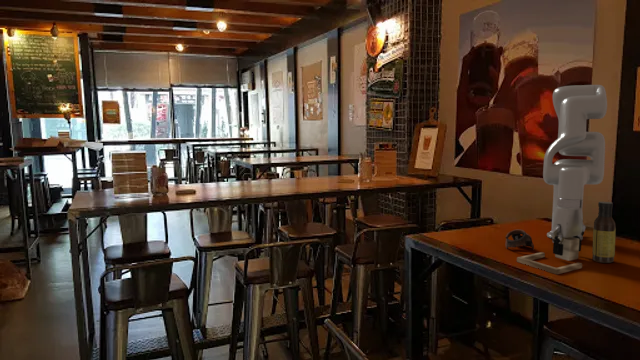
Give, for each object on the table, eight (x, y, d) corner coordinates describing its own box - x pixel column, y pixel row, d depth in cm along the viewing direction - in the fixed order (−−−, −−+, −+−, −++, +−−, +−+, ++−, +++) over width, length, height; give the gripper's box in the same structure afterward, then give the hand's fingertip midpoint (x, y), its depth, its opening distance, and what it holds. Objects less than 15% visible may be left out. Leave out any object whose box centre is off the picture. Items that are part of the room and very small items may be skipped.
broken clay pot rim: (540, 253, 159) (532, 235, 156) (514, 263, 161) (506, 246, 158) (527, 237, 170) (520, 220, 167) (503, 246, 172) (496, 230, 169)
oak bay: (541, 256, 154) (541, 252, 154) (582, 268, 141) (582, 263, 141) (516, 261, 148) (517, 257, 148) (556, 274, 135) (556, 269, 135)
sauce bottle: (618, 262, 146) (623, 203, 143) (602, 264, 144) (607, 204, 142) (602, 257, 152) (606, 200, 149) (586, 258, 150) (590, 201, 148)
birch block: (564, 254, 155) (565, 235, 154) (578, 258, 151) (579, 238, 150) (555, 257, 153) (556, 237, 152) (568, 260, 149) (570, 240, 148)
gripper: (575, 199, 157) (572, 246, 159) (542, 204, 149) (540, 253, 151) (596, 202, 150) (593, 251, 152) (563, 207, 142) (561, 259, 144)
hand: (566, 252), depth 152 cm, fingers open, 9 cm apart
